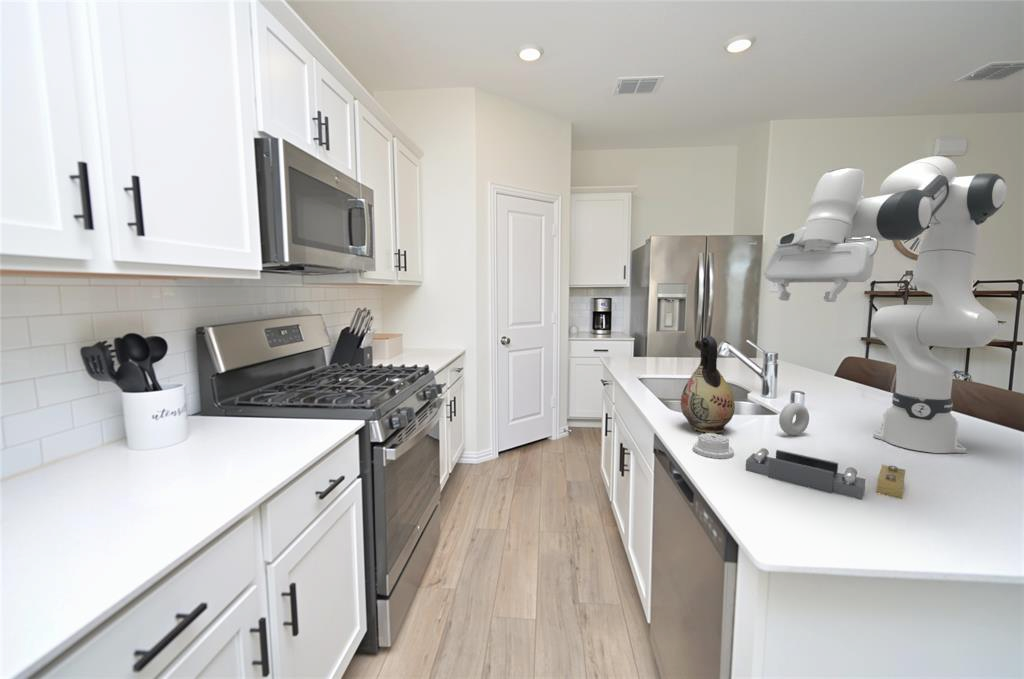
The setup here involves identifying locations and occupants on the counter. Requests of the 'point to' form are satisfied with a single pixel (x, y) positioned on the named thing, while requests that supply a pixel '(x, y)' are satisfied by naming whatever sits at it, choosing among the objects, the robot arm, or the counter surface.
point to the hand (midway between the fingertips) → (805, 300)
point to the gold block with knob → (891, 481)
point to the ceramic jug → (707, 393)
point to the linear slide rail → (807, 472)
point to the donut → (787, 419)
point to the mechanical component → (713, 446)
